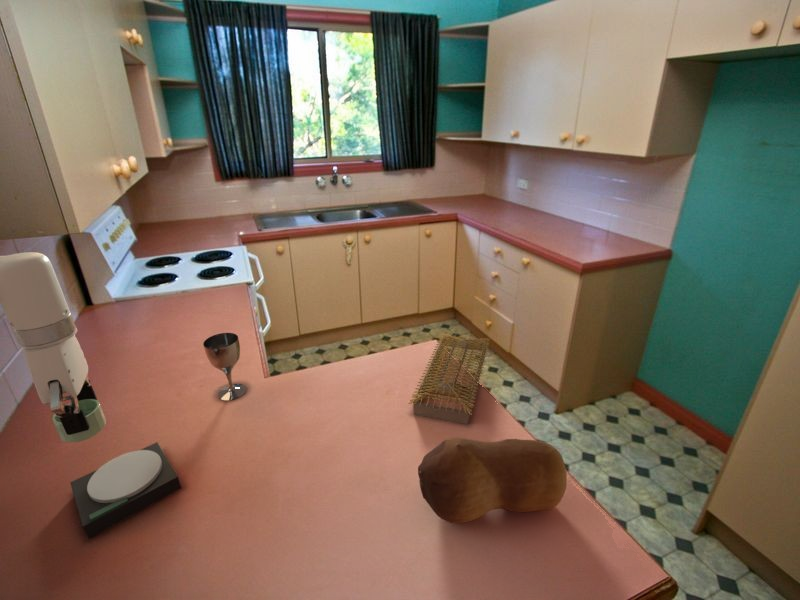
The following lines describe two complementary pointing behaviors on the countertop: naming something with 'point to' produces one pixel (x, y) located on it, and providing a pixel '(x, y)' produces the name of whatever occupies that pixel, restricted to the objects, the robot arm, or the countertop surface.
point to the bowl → (93, 417)
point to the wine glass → (225, 361)
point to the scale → (123, 488)
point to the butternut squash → (491, 477)
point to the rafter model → (449, 387)
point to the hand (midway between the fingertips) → (83, 417)
